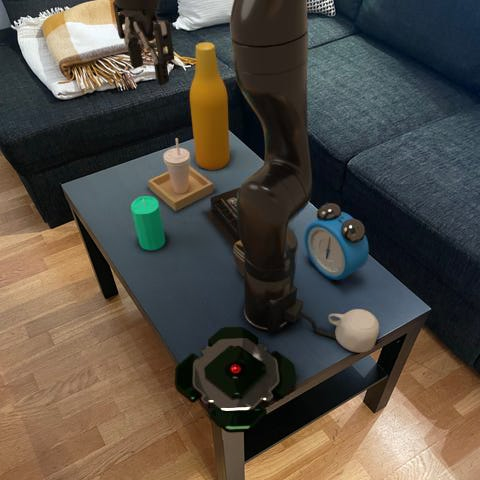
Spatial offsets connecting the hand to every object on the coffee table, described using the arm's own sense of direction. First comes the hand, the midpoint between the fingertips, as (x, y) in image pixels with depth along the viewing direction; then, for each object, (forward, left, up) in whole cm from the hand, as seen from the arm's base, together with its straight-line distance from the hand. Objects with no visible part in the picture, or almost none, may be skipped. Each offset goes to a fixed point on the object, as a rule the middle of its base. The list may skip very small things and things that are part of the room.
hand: (150, 74), depth 87 cm
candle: (-3, +8, -34) cm, 35 cm away
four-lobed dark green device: (-44, +17, -34) cm, 58 cm away
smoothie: (+8, -8, -34) cm, 35 cm away
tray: (+8, -8, -34) cm, 36 cm away
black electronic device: (-14, -12, -34) cm, 39 cm away
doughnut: (-26, -2, -34) cm, 43 cm away
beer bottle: (+13, -22, -34) cm, 43 cm away
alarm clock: (-36, -17, -34) cm, 52 cm away
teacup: (-51, -7, -28) cm, 58 cm away
